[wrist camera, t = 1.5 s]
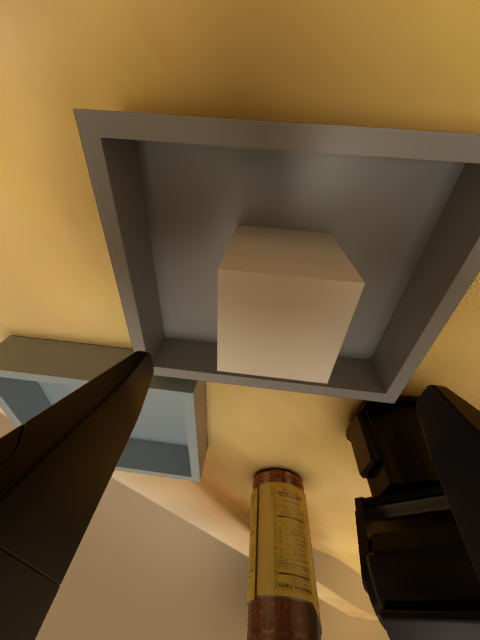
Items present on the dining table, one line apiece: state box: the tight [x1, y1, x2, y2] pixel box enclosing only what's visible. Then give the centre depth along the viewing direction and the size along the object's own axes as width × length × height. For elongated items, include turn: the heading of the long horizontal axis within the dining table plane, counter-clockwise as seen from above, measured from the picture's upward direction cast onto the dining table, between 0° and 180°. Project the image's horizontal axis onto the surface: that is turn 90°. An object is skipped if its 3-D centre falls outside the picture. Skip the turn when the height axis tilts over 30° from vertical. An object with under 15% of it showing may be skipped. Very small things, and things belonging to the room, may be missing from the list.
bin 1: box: [0, 336, 208, 482], centre depth 23 cm, size 17×14×4 cm
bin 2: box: [73, 109, 480, 404], centre depth 14 cm, size 17×14×4 cm
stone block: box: [217, 225, 365, 384], centre depth 12 cm, size 5×5×6 cm
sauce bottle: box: [247, 469, 322, 640], centre depth 23 cm, size 7×6×20 cm
